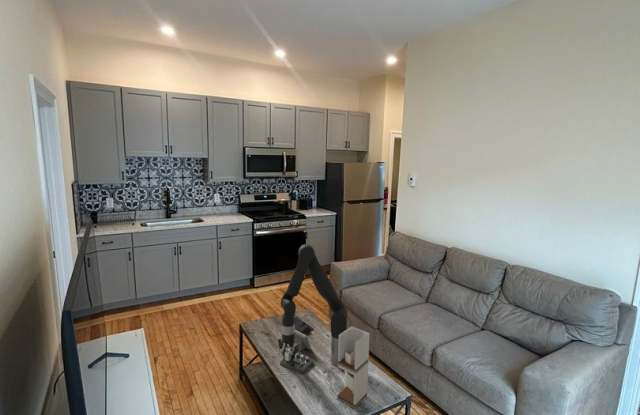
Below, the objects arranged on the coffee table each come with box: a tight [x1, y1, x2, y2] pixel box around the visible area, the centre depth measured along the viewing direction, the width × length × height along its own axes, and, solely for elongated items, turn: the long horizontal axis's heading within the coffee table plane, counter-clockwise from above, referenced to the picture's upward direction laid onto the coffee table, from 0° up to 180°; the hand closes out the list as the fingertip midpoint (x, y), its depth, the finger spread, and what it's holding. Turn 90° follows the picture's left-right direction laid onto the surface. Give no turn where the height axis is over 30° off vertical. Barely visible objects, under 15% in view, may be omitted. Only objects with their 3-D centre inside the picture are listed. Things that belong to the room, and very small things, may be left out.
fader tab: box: [285, 348, 291, 361], centre depth 198 cm, size 2×4×5 cm, turn 149°
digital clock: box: [294, 330, 312, 352], centre depth 214 cm, size 16×9×11 cm, turn 38°
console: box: [279, 351, 315, 375], centre depth 198 cm, size 16×12×4 cm
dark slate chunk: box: [294, 316, 314, 335], centre depth 238 cm, size 15×22×5 cm
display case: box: [336, 325, 370, 410], centre depth 169 cm, size 11×11×35 cm
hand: (288, 357), depth 198 cm, fingers open, 5 cm apart
